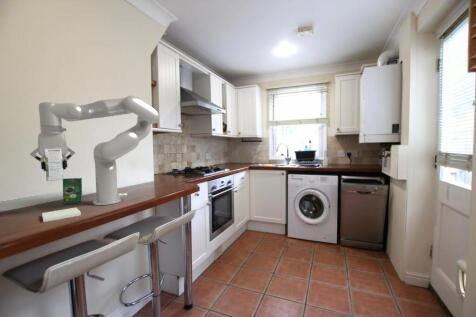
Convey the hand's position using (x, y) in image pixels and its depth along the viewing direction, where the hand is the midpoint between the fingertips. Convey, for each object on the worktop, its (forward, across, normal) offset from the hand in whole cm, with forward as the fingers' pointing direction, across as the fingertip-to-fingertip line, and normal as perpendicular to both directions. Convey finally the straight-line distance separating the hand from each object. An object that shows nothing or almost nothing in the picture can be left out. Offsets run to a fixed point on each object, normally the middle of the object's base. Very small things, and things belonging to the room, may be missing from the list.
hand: (54, 169), depth 100 cm
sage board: (+19, 0, +11) cm, 22 cm away
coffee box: (+19, -7, -12) cm, 24 cm away
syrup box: (+5, 0, 0) cm, 5 cm away
